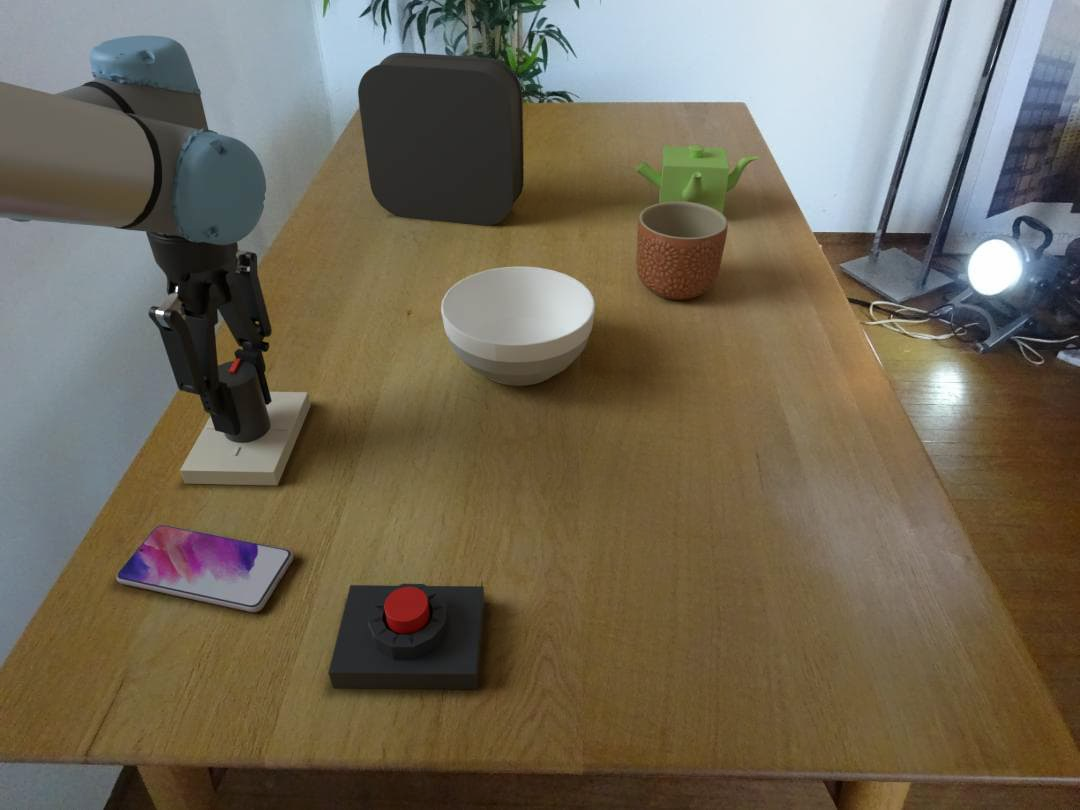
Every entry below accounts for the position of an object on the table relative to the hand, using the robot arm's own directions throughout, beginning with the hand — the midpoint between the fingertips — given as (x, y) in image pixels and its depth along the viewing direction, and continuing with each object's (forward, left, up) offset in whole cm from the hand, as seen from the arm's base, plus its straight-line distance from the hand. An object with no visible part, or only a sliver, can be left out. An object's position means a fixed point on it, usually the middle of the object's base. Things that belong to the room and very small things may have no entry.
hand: (244, 415), depth 89 cm
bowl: (+22, +26, -4) cm, 34 cm away
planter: (+36, +52, -4) cm, 63 cm away
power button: (+30, -17, 0) cm, 34 cm away
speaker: (-7, +64, -4) cm, 65 cm away
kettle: (+32, +79, -4) cm, 85 cm away
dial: (0, 0, -2) cm, 2 cm away
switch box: (+30, -17, -4) cm, 35 cm away
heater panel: (0, 0, -4) cm, 4 cm away
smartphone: (+8, -17, -4) cm, 19 cm away
